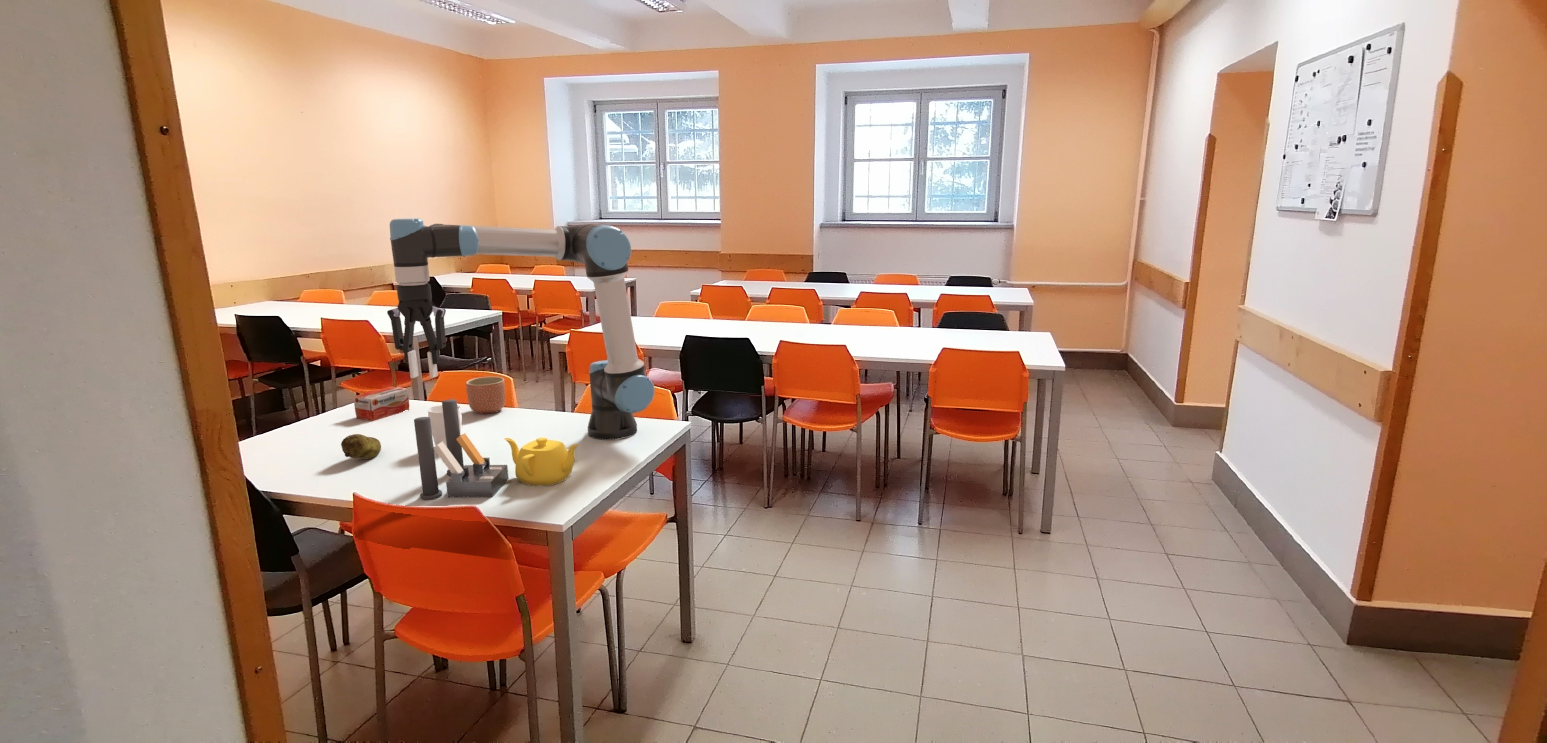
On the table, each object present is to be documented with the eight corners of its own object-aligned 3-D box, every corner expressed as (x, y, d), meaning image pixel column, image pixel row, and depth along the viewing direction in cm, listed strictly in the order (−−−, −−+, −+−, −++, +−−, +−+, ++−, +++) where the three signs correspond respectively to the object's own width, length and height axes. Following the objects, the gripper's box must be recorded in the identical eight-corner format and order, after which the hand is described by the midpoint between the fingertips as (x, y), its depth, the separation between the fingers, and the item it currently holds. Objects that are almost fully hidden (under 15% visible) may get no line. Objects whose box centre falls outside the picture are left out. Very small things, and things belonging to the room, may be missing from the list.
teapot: (487, 486, 193) (483, 446, 190) (521, 465, 207) (518, 428, 205) (564, 494, 187) (560, 453, 185) (594, 472, 202) (591, 434, 199)
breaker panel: (508, 479, 198) (506, 456, 196) (492, 497, 186) (489, 473, 185) (466, 479, 198) (464, 457, 196) (447, 497, 186) (445, 473, 185)
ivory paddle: (466, 473, 189) (443, 440, 187) (461, 478, 186) (437, 444, 184) (461, 476, 189) (437, 443, 187) (456, 481, 186) (432, 448, 184)
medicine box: (372, 422, 249) (369, 398, 247) (355, 419, 253) (352, 396, 251) (410, 410, 263) (408, 388, 261) (394, 407, 266) (391, 385, 264)
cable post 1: (445, 492, 189) (436, 415, 185) (437, 499, 185) (427, 421, 180) (425, 492, 189) (416, 416, 185) (416, 500, 185) (406, 422, 180)
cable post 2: (470, 469, 205) (462, 398, 200) (462, 476, 200) (454, 403, 195) (451, 469, 205) (443, 398, 200) (444, 476, 200) (435, 403, 195)
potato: (394, 453, 218) (391, 426, 216) (355, 467, 207) (351, 440, 205) (373, 449, 221) (370, 423, 220) (334, 464, 210) (330, 436, 208)
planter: (461, 415, 255) (458, 384, 252) (481, 405, 267) (478, 375, 264) (495, 417, 253) (492, 385, 250) (513, 407, 265) (511, 377, 262)
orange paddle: (488, 464, 195) (465, 432, 193) (483, 468, 192) (460, 436, 190) (483, 467, 195) (460, 435, 193) (478, 471, 192) (455, 439, 190)
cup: (452, 453, 218) (448, 413, 215) (425, 451, 219) (420, 412, 217) (471, 443, 226) (467, 405, 224) (444, 441, 228) (439, 403, 225)
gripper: (455, 281, 186) (464, 372, 192) (385, 281, 186) (397, 373, 192) (442, 284, 179) (452, 380, 185) (369, 285, 179) (382, 380, 184)
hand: (424, 376), depth 188 cm, fingers open, 4 cm apart
